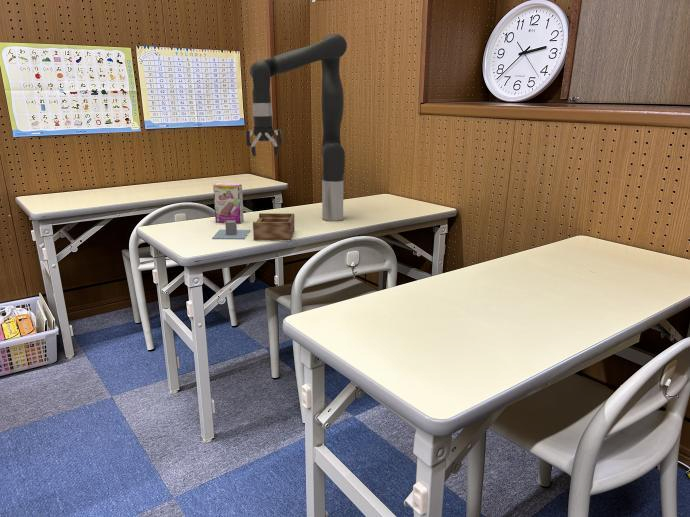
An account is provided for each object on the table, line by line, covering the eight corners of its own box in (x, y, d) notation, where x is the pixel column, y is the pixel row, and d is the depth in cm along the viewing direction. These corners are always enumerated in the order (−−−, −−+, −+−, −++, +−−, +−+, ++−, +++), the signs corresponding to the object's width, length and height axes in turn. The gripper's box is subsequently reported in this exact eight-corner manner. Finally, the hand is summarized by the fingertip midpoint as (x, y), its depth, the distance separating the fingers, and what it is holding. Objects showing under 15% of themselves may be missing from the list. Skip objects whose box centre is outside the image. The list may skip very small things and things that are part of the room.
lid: (250, 232, 202) (249, 217, 200) (244, 240, 190) (243, 225, 188) (219, 232, 201) (218, 217, 200) (212, 240, 190) (210, 225, 188)
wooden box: (294, 230, 203) (294, 213, 200) (290, 240, 188) (290, 222, 186) (260, 230, 203) (259, 213, 200) (253, 240, 188) (252, 222, 186)
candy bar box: (215, 223, 213) (212, 184, 207) (219, 220, 217) (216, 182, 212) (240, 224, 212) (238, 185, 206) (244, 221, 216) (242, 183, 211)
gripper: (281, 114, 203) (283, 154, 208) (246, 114, 203) (249, 155, 208) (279, 115, 196) (281, 157, 201) (243, 115, 196) (246, 157, 201)
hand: (265, 156), depth 204 cm, fingers open, 8 cm apart
